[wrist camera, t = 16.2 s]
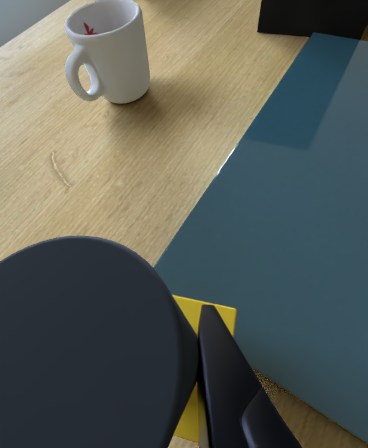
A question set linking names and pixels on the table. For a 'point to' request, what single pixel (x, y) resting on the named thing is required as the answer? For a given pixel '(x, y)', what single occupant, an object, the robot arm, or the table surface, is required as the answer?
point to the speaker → (314, 17)
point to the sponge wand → (95, 349)
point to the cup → (108, 50)
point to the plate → (293, 234)
